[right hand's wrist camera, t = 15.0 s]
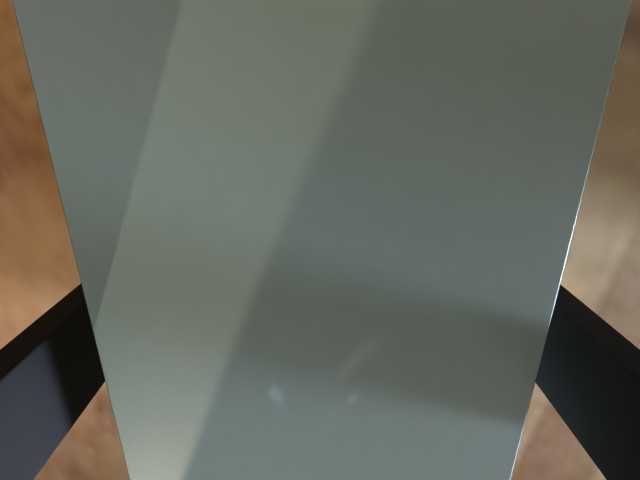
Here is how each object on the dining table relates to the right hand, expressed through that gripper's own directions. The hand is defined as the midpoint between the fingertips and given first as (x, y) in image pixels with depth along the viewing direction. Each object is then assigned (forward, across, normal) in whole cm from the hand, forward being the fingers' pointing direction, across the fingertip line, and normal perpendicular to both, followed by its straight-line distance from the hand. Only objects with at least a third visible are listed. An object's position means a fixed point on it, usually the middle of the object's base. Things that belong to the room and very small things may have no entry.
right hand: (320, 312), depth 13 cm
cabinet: (+6, 0, -6) cm, 9 cm away
